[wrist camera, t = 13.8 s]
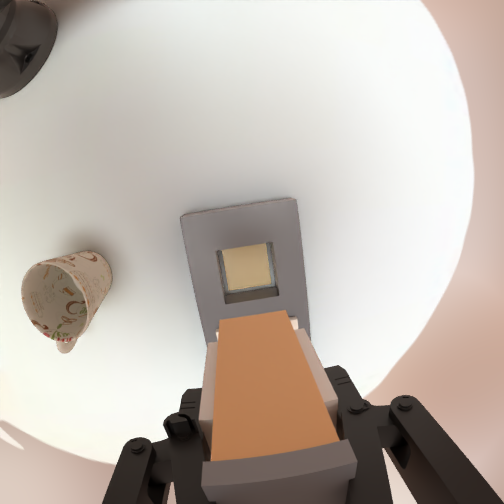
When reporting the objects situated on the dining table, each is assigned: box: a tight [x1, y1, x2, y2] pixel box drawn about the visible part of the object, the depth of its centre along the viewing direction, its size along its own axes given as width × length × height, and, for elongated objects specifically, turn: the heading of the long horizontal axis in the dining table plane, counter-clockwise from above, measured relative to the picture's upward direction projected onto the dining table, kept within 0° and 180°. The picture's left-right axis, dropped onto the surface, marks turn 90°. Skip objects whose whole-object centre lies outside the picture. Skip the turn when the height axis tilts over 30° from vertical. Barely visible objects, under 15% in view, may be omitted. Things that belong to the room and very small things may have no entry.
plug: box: [201, 310, 357, 504], centre depth 13 cm, size 4×4×12 cm
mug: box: [21, 251, 112, 353], centre depth 30 cm, size 8×13×10 cm, turn 166°
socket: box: [180, 198, 311, 346], centre depth 36 cm, size 23×12×3 cm, turn 8°
